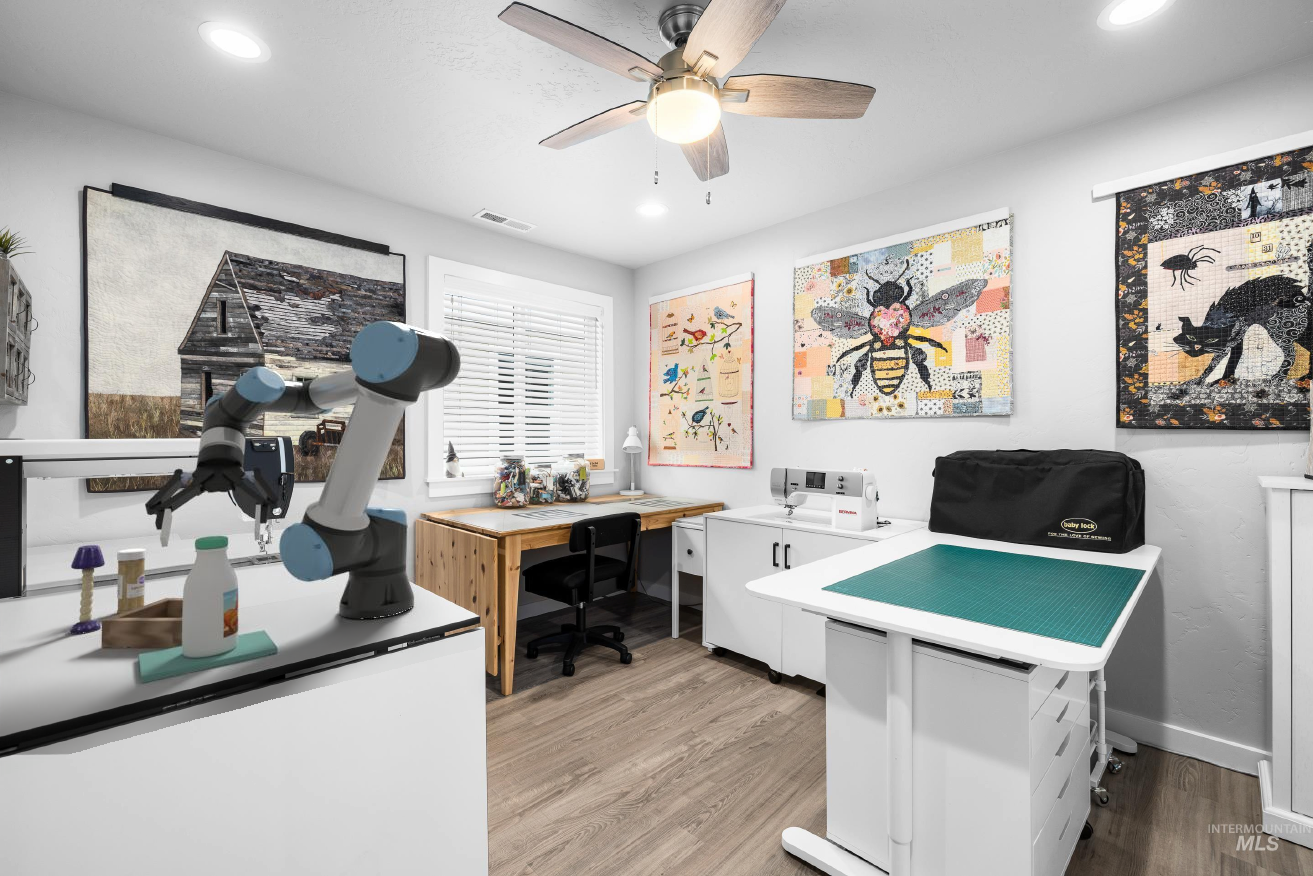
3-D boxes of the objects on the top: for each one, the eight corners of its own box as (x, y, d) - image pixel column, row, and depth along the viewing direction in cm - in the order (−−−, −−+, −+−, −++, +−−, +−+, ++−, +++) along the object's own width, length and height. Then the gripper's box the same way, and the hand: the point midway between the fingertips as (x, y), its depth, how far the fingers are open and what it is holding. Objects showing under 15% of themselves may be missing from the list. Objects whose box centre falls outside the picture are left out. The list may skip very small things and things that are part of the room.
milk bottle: (206, 661, 94) (208, 543, 94) (170, 656, 96) (171, 540, 95) (248, 644, 102) (250, 535, 101) (213, 640, 103) (215, 532, 103)
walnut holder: (235, 622, 116) (235, 598, 116) (181, 647, 102) (181, 620, 102) (165, 622, 115) (166, 598, 115) (101, 647, 101) (101, 620, 101)
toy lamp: (107, 625, 113) (108, 543, 113) (98, 632, 109) (99, 547, 109) (75, 628, 111) (76, 545, 111) (64, 636, 107) (65, 549, 107)
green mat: (264, 635, 109) (264, 630, 109) (277, 653, 100) (277, 647, 100) (138, 660, 96) (138, 654, 96) (141, 682, 88) (141, 676, 88)
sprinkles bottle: (140, 613, 121) (140, 551, 121) (112, 615, 119) (113, 552, 119) (148, 607, 125) (149, 547, 125) (122, 609, 123) (122, 548, 123)
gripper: (293, 465, 125) (292, 544, 113) (144, 467, 111) (124, 557, 99) (293, 442, 120) (292, 521, 108) (138, 441, 107) (116, 532, 94)
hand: (212, 539), depth 103 cm, fingers open, 13 cm apart
